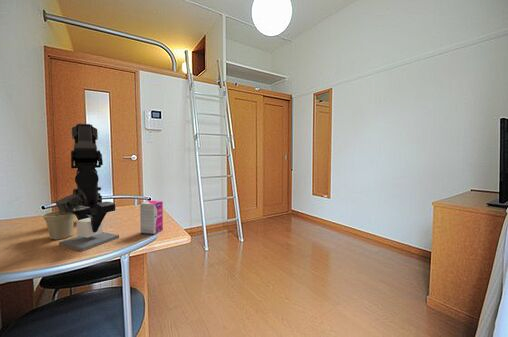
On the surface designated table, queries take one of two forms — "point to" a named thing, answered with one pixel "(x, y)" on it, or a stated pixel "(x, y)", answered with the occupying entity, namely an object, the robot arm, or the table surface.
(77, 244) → the gray mat
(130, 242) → the table surface
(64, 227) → the flower pot
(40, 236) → the table surface
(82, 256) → the table surface
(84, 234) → the off-white cube
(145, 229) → the supplement box
